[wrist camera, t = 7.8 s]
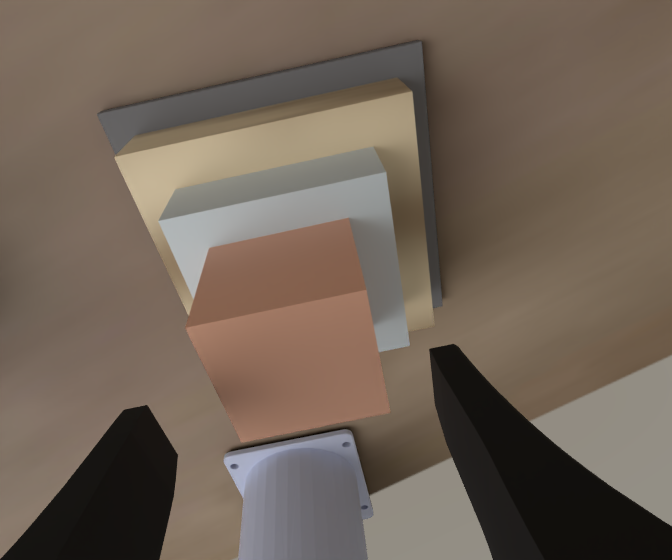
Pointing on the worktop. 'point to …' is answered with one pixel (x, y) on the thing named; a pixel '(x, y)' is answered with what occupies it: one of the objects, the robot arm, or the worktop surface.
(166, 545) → the worktop surface
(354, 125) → the oak slab
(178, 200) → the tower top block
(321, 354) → the terracotta block
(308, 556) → the robot arm
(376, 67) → the rubber mat
